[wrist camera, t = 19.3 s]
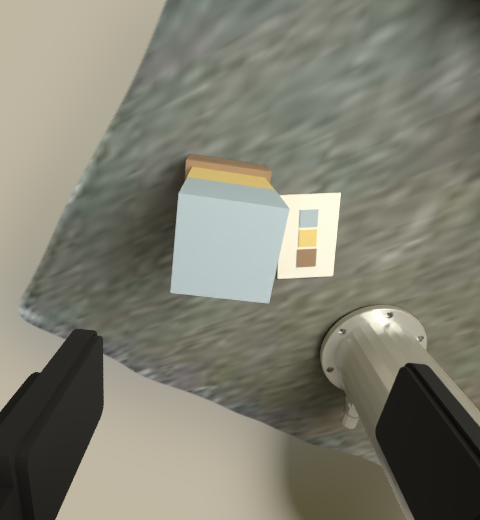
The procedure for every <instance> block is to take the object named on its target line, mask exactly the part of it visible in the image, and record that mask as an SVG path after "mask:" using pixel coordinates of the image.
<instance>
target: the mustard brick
mask: <svg viewBox="0 0 480 520" xmlns="http://www.w3.org/2000/svg"><path fill="white" fill-rule="evenodd" d="M187 177H190V178H197V179H204V180H211V181H217V182H224V183H231V184H238V185H245V186H251V187H258V188H265V189H272V190H274V189H273V187H272V186H271V185H270V183H269V182H268V181H267V179H266V178H264V177H257V176H251V175H244V174H237V173H231V172H224V171H217V170H211V169H204V168H197V167H192V168H191V170H190V172H189V174H188V176H187ZM186 179H187V178H186Z"/></svg>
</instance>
